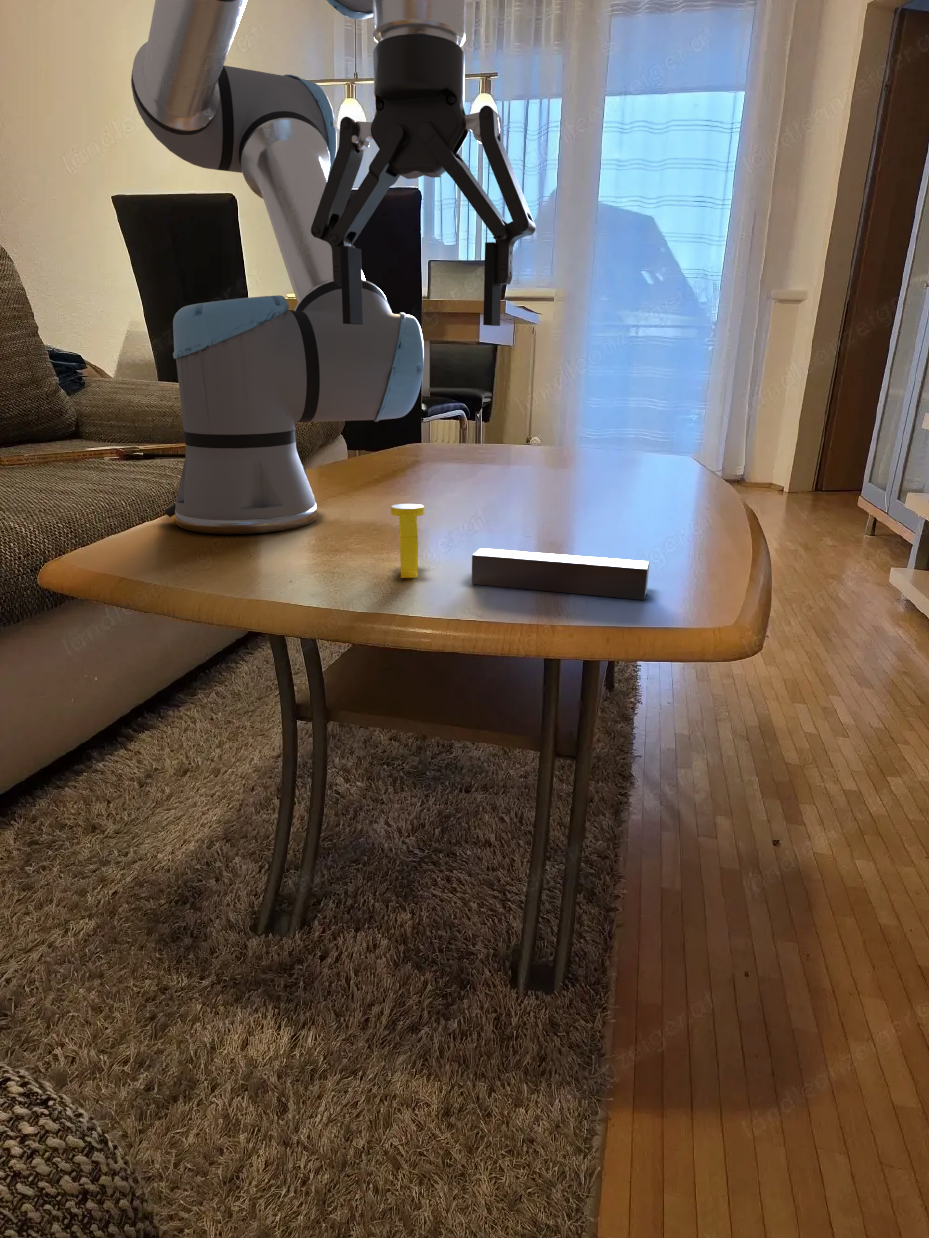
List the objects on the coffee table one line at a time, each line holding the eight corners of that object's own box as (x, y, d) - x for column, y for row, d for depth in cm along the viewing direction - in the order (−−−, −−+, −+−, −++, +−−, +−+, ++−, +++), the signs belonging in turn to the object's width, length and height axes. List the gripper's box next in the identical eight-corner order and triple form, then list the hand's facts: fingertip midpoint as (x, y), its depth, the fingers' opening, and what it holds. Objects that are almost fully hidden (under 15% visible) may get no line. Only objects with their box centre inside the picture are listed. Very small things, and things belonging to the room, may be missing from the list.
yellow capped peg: (426, 584, 62) (425, 513, 60) (392, 585, 62) (390, 513, 60) (423, 565, 68) (423, 499, 66) (392, 565, 68) (391, 499, 66)
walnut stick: (471, 584, 62) (471, 554, 62) (479, 576, 65) (480, 547, 64) (644, 600, 59) (647, 569, 58) (646, 591, 61) (649, 561, 60)
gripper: (260, 45, 62) (279, 322, 69) (560, 11, 55) (545, 325, 62) (306, 74, 69) (319, 324, 76) (578, 47, 61) (563, 327, 69)
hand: (420, 325), depth 69 cm, fingers open, 13 cm apart
